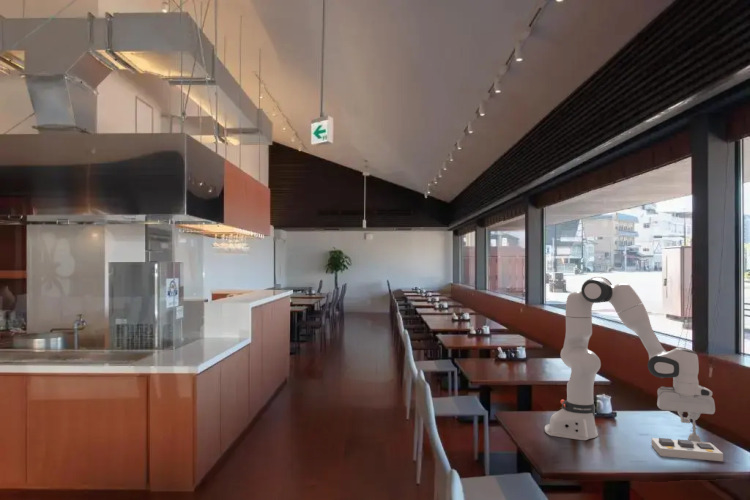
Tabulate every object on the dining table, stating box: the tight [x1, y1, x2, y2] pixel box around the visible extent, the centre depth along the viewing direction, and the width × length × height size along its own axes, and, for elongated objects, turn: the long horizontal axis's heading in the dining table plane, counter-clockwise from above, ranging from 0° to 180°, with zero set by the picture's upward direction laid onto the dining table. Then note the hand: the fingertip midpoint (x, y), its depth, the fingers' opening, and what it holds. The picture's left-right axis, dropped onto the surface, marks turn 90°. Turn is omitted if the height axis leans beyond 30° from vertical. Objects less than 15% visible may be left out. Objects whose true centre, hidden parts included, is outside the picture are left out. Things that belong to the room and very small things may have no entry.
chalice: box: [686, 412, 702, 442], centre depth 217 cm, size 7×7×18 cm
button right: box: [697, 443, 714, 450], centre depth 200 cm, size 4×4×2 cm
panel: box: [651, 437, 724, 462], centre depth 202 cm, size 22×12×3 cm, turn 76°
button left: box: [658, 437, 674, 446], centre depth 204 cm, size 4×4×2 cm
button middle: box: [677, 438, 694, 448], centre depth 202 cm, size 4×4×2 cm
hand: (685, 422), depth 202 cm, fingers closed
